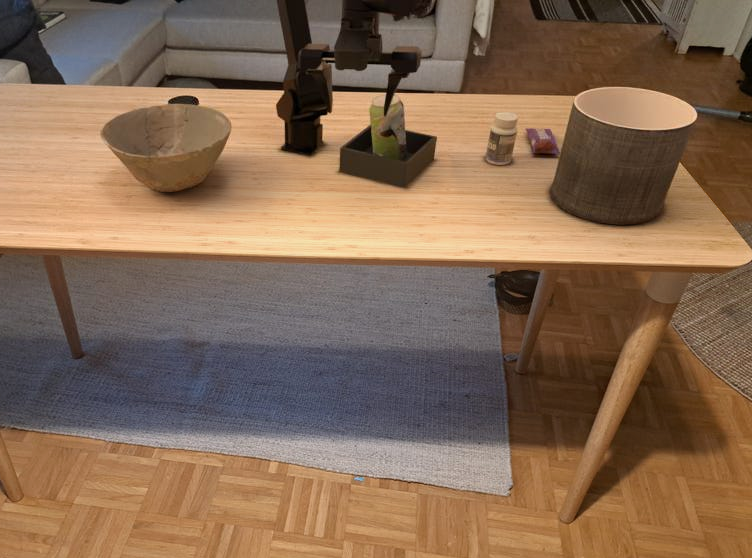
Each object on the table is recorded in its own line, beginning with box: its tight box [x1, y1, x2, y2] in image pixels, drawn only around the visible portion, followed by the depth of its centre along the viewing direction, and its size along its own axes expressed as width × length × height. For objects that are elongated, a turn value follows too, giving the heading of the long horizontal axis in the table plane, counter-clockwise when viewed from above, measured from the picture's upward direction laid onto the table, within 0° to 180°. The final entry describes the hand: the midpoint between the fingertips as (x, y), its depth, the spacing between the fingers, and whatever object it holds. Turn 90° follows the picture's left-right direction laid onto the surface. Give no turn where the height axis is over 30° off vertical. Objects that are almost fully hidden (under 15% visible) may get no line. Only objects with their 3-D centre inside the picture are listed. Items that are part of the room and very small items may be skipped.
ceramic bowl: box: [99, 103, 232, 193], centre depth 120 cm, size 22×23×10 cm
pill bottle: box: [485, 111, 519, 166], centre depth 125 cm, size 5×5×8 cm
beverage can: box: [368, 94, 407, 161], centre depth 122 cm, size 6×7×12 cm
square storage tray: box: [338, 124, 438, 189], centre depth 125 cm, size 13×13×5 cm
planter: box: [550, 86, 698, 225], centre depth 110 cm, size 18×18×16 cm
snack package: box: [525, 127, 561, 155], centre depth 132 cm, size 12×2×5 cm
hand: (357, 114), depth 112 cm, fingers open, 9 cm apart
